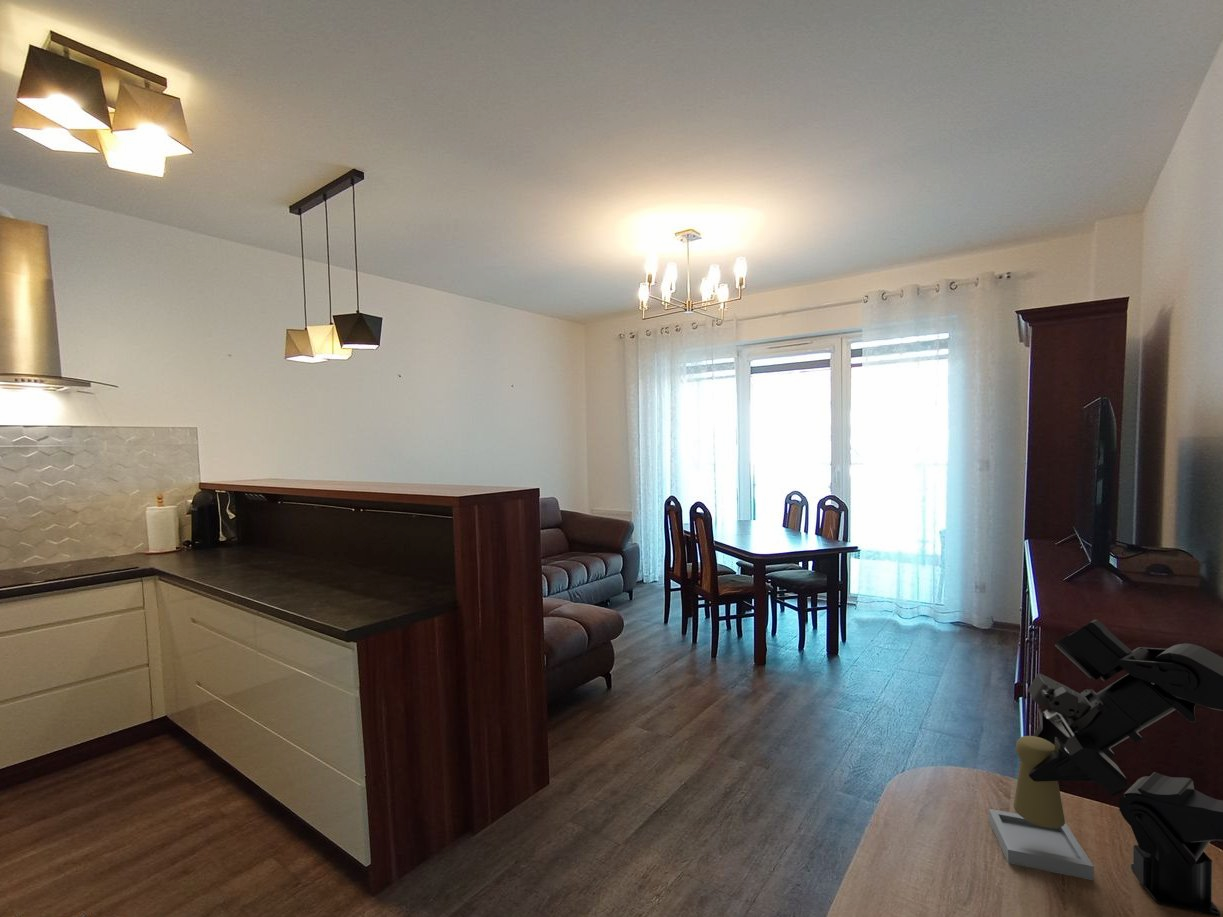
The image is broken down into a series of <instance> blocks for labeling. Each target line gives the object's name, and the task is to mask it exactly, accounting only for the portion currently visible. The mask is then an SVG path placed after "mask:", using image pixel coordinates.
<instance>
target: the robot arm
mask: <svg viewBox="0 0 1223 917" xmlns="http://www.w3.org/2000/svg"><path fill="white" fill-rule="evenodd" d="M1054 646H1055V647H1056V648H1057V649H1058V650H1059V651H1060V652H1061V653H1062V654H1063V655H1064V656H1065V657H1067V658H1068V659H1069V660H1070V661H1071V662H1072V663H1073V664H1074V665H1075V666H1076V667H1078V668H1079V669H1080V670H1081V671H1082V672H1083V673H1084V674H1085V675H1086V676H1087V677H1088V678H1089V679H1091V678H1092V679H1093V680H1094V681H1096V680H1098V679H1101V680H1102V681H1103V682H1106V681H1108V680H1109V679H1110V678H1112V677H1114V676H1115V675H1116V674H1118V673H1120V672H1122V671H1123V670H1124V671H1125V672H1126V673H1127V674H1125V675H1124V676H1122V677H1121V678H1119V679H1117V680H1116V681H1114V682H1113V683H1111V684H1109V685H1108V686H1106V687H1105V688H1103V689H1102V690H1100V691H1098V692H1095V691H1094V689H1092V688H1090V689H1085V690H1083V691H1082V692H1080V693H1079V692H1078V691H1076V690H1074V689H1072V688H1070V687H1069V686H1067V685H1065V684H1063V683H1060V682H1059V681H1057V680H1055V679H1053V678H1050V677H1049V676H1047V675H1044V674H1042V673H1040V672H1039V673H1037V674H1036V676H1035V678H1034V679H1033V681H1032V682H1031V684H1030V685H1029V687H1028V689H1027V692H1028V693H1029V694H1031V699H1032V700H1033V702H1035V703H1036V704H1037V705H1039V706H1041V707H1043V708H1045V710H1043V709H1042V708H1040V707H1038V709H1037V712H1038V715H1039V716H1038V717H1039V725H1038V727H1037V729H1036V730H1035V732H1034V733H1033V735H1032V736H1036V737H1040V738H1043V739H1045V740H1047V741H1049V742H1051V743H1052V744H1054V745H1055V750H1054V752H1053V753H1051V754H1050V755H1049V756H1048V757H1047V758H1045V759H1044V760H1043V761H1042V762H1040V763H1039V764H1038V765H1037V766H1036V767H1034V768H1033V769H1032V770H1031V771H1030V772H1029V773H1028V775H1029V777H1030V778H1031V779H1032V780H1033V781H1035V782H1038V781H1058V782H1062V781H1063V782H1067V781H1068V782H1070V781H1071V782H1091V783H1093V782H1094V784H1096V785H1100V786H1101V787H1102V788H1104V790H1106V791H1107V792H1108V793H1109V794H1110V795H1111V796H1112V797H1115V796H1117V795H1119V794H1120V793H1122V792H1124V791H1125V792H1124V793H1123V794H1122V795H1121V796H1120V797H1119V800H1118V808H1119V812H1120V814H1121V816H1122V818H1123V819H1124V820H1125V821H1126V823H1127V824H1128V825H1129V826H1130V828H1131V830H1132V833H1133V835H1134V838H1135V839H1136V842H1137V843H1136V844H1134V845H1133V849H1132V850H1133V851H1132V852H1133V854H1132V855H1133V856H1132V857H1133V862H1132V863H1133V864H1132V863H1131V864H1130V869H1131V870H1132V872H1133V874H1134V875H1135V877H1136V878H1137V879H1138V881H1139V882H1140V884H1141V885H1142V886H1143V887H1144V889H1145V890H1146V891H1147V892H1148V894H1149V896H1151V898H1152V899H1153V900H1154V902H1156V903H1157V904H1159V905H1162V906H1167V907H1171V908H1176V909H1181V910H1186V911H1191V912H1194V913H1199V914H1204V915H1210V916H1214V917H1221V911H1220V909H1219V908H1218V907H1217V906H1216V904H1215V903H1214V902H1213V901H1212V900H1213V899H1212V896H1213V894H1212V892H1213V891H1212V890H1213V860H1212V859H1211V858H1210V857H1209V855H1207V853H1205V852H1204V851H1205V850H1206V849H1207V847H1208V845H1209V844H1210V842H1214V841H1217V842H1218V841H1221V842H1223V799H1217V798H1214V797H1211V796H1209V795H1206V794H1204V793H1203V792H1201V791H1198V790H1197V789H1195V786H1194V780H1193V779H1192V778H1189V777H1183V776H1182V777H1177V776H1176V777H1175V776H1174V777H1172V776H1168V775H1165V774H1161V773H1159V772H1157V771H1154V772H1153V773H1152V774H1151V775H1149V776H1146V775H1145V776H1142V777H1139V778H1138V779H1137V780H1136V781H1135V782H1134V783H1133V784H1132V785H1131V786H1130V787H1129V788H1128V779H1127V777H1126V776H1125V774H1124V773H1123V771H1122V770H1121V769H1120V768H1119V766H1118V765H1117V764H1116V762H1114V761H1113V760H1112V759H1111V758H1112V757H1114V756H1115V753H1114V752H1113V750H1112V749H1111V748H1113V747H1115V746H1117V745H1118V744H1120V743H1122V742H1123V741H1126V740H1127V739H1131V740H1133V741H1134V742H1135V743H1138V742H1139V741H1141V740H1143V736H1141V734H1139V732H1140V731H1142V730H1143V729H1146V728H1148V727H1149V726H1150V725H1153V723H1156V722H1157V721H1159V720H1161V719H1162V718H1164V717H1166V716H1168V715H1170V714H1171V713H1172V712H1174V711H1176V712H1178V713H1179V714H1180V715H1182V716H1183V717H1184V718H1185V719H1186V720H1188V721H1189V722H1191V723H1195V722H1197V717H1196V715H1195V709H1196V705H1198V706H1200V707H1204V708H1207V709H1211V710H1216V711H1220V712H1221V711H1222V712H1223V657H1222V656H1220V655H1219V654H1217V653H1215V652H1213V651H1211V650H1209V649H1207V648H1206V647H1203V646H1200V645H1197V644H1194V643H1185V642H1184V643H1179V644H1174V645H1172V646H1170V647H1168V648H1160V647H1159V648H1158V647H1144V646H1142V647H1140V646H1139V647H1136V648H1135V649H1133V650H1132V649H1131V648H1129V647H1128V646H1127V645H1126V644H1125V643H1123V641H1121V640H1120V639H1119V638H1118V637H1116V636H1115V634H1113V633H1112V632H1111V631H1109V629H1108V628H1107V627H1106V626H1105V625H1104V624H1103V623H1102V622H1100V620H1098V619H1093V620H1091V621H1089V622H1088V623H1087V624H1085V625H1084V626H1082V627H1081V628H1079V629H1077V630H1075V631H1074V632H1071V633H1068V635H1066V636H1065V637H1063V638H1061V639H1060V640H1059V641H1058V642H1057V643H1055V644H1054Z"/></svg>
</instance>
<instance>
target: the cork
mask: <svg viewBox="0 0 1223 917" xmlns="http://www.w3.org/2000/svg"><path fill="white" fill-rule="evenodd" d="M1015 744H1016V748H1015V749H1016V754H1017V756H1018V758H1019V759H1020V762H1019V769H1018V776H1017V781H1016V787H1015V795H1014V799H1013V800H1014V802H1013V808H1014V810H1015V813H1016V814H1019V815H1020V816H1021V817H1023V818H1024V819H1026V820H1027V821H1030V822H1032V823H1034V824H1037V825H1040V826H1043V827H1049V828H1059V827H1062V826H1063V825H1064V824H1065V823H1066V819H1065V814H1064V809H1063V802H1062V801H1063V800H1062V796H1061V792H1060V791H1061V790H1060V786H1059V781H1038V782H1035V781H1033V780H1032V779H1031V778H1030V777H1029V775H1028V773H1029V772H1030V771H1031V770H1032V769H1033V768H1034V767H1036V766H1037V765H1038V764H1039V763H1040V762H1042V761H1043V760H1044V759H1045V758H1047V757H1048V756H1049V755H1050V754H1051V753H1053V752H1054V750H1055V745H1054V744H1052V743H1051V742H1049V741H1047V740H1045V739H1043V738H1040V737H1036V736H1033V735H1025V736H1020V738H1018V739H1017V741H1016V743H1015Z"/></svg>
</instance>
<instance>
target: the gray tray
mask: <svg viewBox="0 0 1223 917" xmlns="http://www.w3.org/2000/svg"><path fill="white" fill-rule="evenodd" d="M988 822H989V824H990V826H991V829H992V831H993V833H994V835H995V837H996V839H997V842H998V844H999V846H1000V848H1001V851H1002V853H1003V855H1004V858H1005V860H1006V861H1007V863H1008V864H1010V865H1011V864H1013V865H1016V866H1022V867H1026V868H1031V869H1036V870H1042V871H1046V872H1051V873H1055V874H1059V875H1066V876H1070V877H1076V878H1080V879H1084V880H1089V881H1090V880H1091V881H1094V880H1095V879H1094V878H1095V871H1094V870H1095V865H1093V863H1092V862H1091V859H1089V857H1088V855H1087V854H1086V852H1085V850H1084V849H1083V847H1082V846H1081V845H1080V843H1079V841H1078V840H1077V838H1076V836H1075V835H1074V834H1073V831H1071V829H1070V827H1069V826H1068V825H1067V823H1066V822H1065V824H1064V825H1063V826H1062V827H1059V828H1049V827H1043V826H1040V825H1037V824H1034V823H1032V822H1030V821H1027V820H1026V819H1024V818H1023V817H1021V816H1020V815H1019V814H1018V813H1017V812H1009V811H1005V810H999V809H998V810H997V809H994V808H993V809H992V808H988Z"/></svg>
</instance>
